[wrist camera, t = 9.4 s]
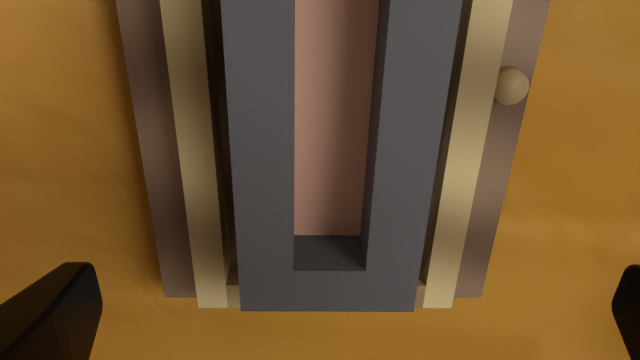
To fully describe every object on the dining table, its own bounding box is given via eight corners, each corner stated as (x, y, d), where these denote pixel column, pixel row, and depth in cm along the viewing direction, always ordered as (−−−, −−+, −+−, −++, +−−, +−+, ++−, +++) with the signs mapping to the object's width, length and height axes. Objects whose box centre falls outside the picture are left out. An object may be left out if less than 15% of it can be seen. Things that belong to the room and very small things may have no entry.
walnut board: (471, 275, 25) (490, 322, 22) (172, 274, 24) (156, 322, 22) (591, -277, 15) (652, -312, 12) (84, -296, 14) (35, -336, 12)
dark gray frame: (395, 242, 22) (413, 311, 18) (251, 241, 21) (240, 310, 18) (446, -158, 15) (489, -170, 11) (231, -166, 14) (209, -180, 11)
